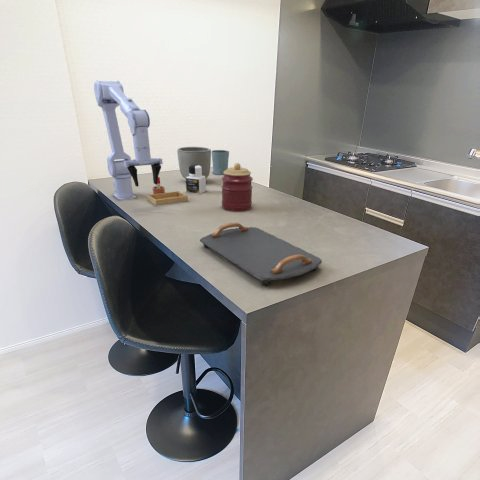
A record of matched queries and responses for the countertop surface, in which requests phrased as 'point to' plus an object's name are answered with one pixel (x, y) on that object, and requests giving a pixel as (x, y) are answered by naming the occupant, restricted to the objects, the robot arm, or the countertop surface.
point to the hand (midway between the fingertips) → (146, 184)
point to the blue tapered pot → (220, 161)
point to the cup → (158, 190)
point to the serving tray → (260, 252)
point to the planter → (194, 159)
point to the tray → (167, 198)
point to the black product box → (195, 180)
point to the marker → (158, 183)
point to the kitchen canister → (237, 189)
